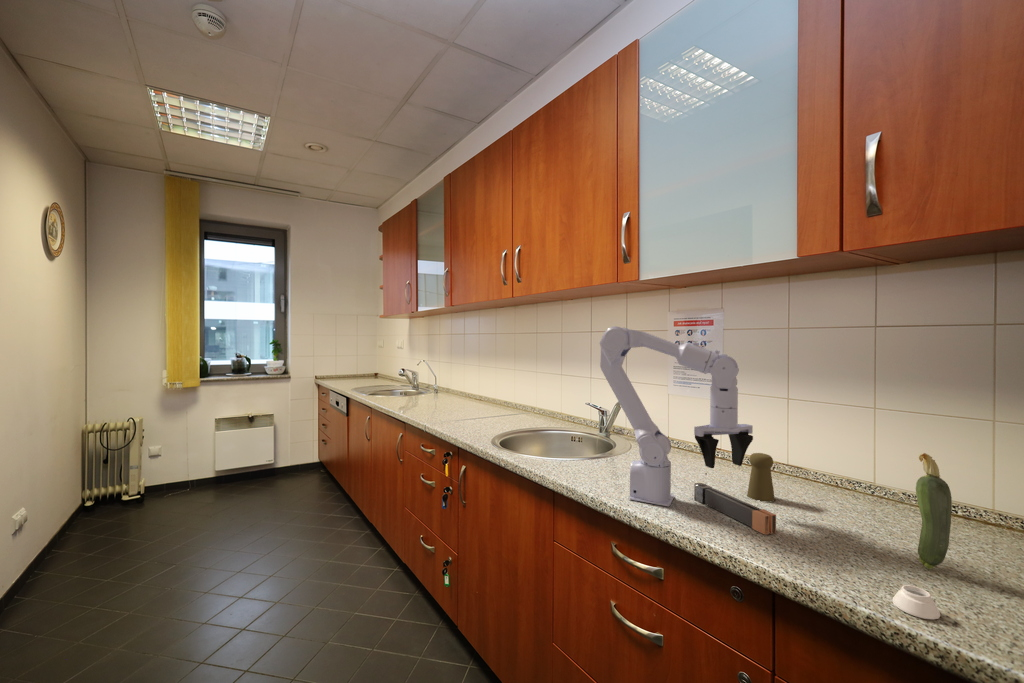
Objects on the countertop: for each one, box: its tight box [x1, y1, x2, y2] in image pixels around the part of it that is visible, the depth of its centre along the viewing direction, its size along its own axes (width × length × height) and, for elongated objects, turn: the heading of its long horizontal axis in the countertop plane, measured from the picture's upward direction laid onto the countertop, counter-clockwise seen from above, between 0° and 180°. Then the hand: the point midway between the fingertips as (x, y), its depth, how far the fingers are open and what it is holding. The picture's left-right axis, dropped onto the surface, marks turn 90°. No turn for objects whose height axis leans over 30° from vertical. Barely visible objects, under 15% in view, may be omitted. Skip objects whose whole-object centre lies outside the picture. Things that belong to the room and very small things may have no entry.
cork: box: [746, 452, 775, 502], centre depth 109 cm, size 6×6×11 cm
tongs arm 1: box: [704, 489, 770, 535], centre depth 95 cm, size 17×1×4 cm, turn 17°
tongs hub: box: [693, 482, 713, 505], centre depth 106 cm, size 4×3×4 cm
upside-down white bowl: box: [892, 584, 941, 620], centre depth 63 cm, size 5×3×5 cm
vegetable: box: [915, 452, 953, 570], centre depth 74 cm, size 4×4×20 cm
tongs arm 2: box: [711, 487, 777, 534], centre depth 96 cm, size 17×1×4 cm, turn 17°
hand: (723, 465), depth 100 cm, fingers open, 7 cm apart
